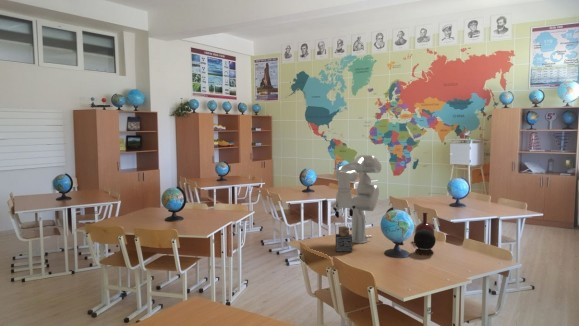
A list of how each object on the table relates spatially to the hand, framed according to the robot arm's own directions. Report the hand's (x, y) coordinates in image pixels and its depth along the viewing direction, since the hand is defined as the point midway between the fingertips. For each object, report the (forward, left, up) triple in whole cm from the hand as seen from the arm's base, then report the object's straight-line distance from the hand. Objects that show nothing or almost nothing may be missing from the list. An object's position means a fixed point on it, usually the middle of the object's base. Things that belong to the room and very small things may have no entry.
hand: (344, 216), depth 267 cm
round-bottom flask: (-63, -2, -22) cm, 67 cm away
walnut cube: (0, 0, -12) cm, 12 cm away
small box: (0, 0, -23) cm, 23 cm away
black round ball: (-46, +21, -23) cm, 55 cm away
